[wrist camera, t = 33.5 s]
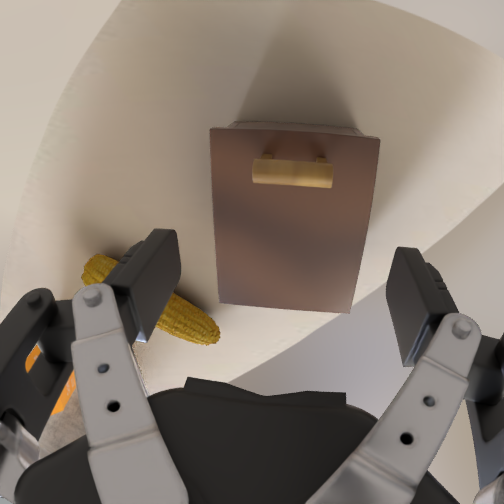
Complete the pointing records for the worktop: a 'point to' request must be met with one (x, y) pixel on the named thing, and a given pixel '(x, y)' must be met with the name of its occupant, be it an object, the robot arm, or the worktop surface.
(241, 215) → the bread lid
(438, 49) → the worktop surface
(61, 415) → the grey jug
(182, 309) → the food
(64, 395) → the orange juice
